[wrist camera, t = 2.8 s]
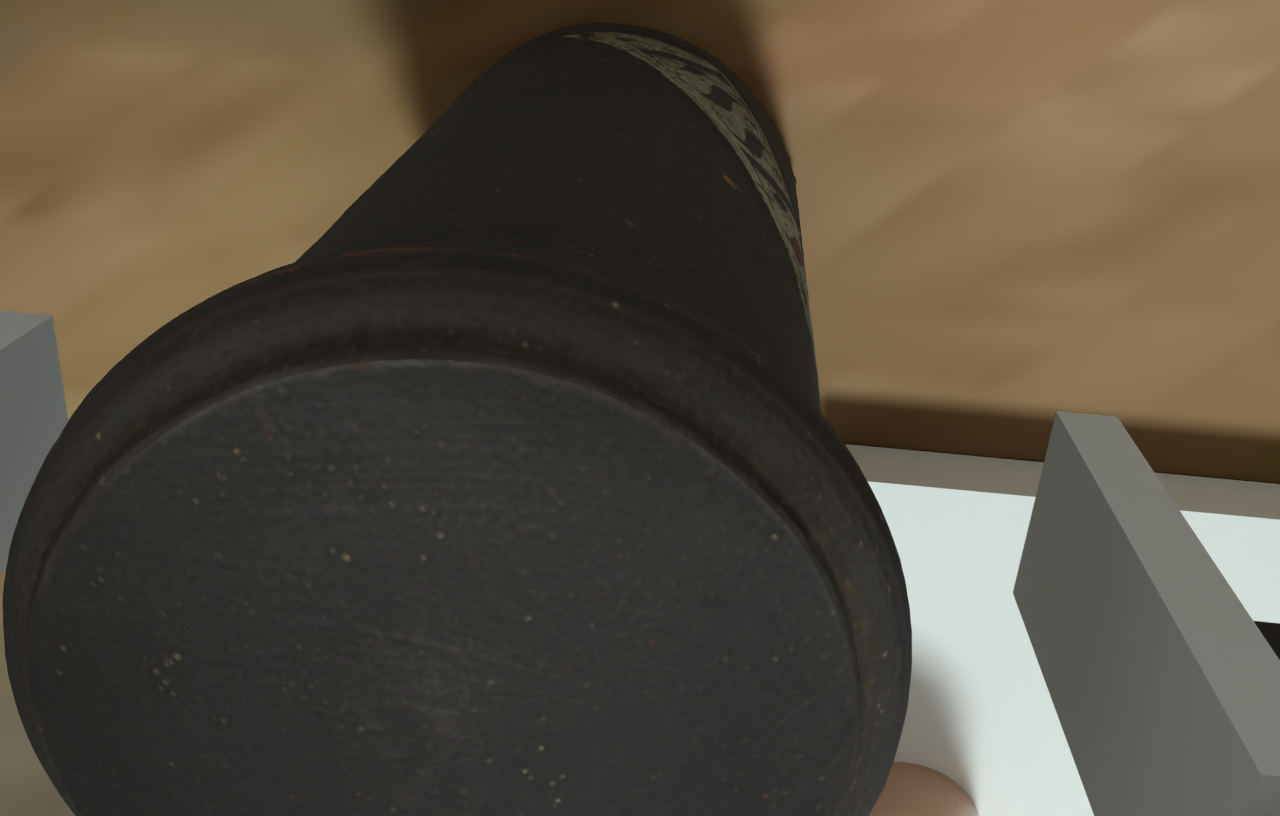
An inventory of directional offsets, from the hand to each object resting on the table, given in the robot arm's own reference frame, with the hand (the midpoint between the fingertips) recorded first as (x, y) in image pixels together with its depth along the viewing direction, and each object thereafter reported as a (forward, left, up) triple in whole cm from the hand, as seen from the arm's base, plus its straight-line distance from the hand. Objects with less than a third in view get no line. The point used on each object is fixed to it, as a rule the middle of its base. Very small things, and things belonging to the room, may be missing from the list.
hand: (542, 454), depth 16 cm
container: (0, 0, -14) cm, 14 cm away
